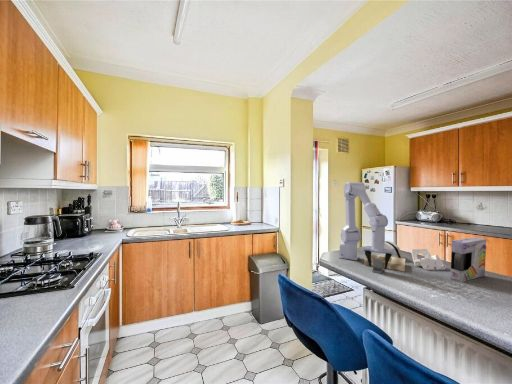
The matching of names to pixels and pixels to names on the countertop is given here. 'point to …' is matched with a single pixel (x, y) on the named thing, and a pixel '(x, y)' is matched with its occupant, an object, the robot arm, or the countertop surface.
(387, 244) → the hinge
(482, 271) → the cake pan box
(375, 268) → the t bracket
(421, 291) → the countertop surface
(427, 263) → the mounting bracket
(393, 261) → the well block
